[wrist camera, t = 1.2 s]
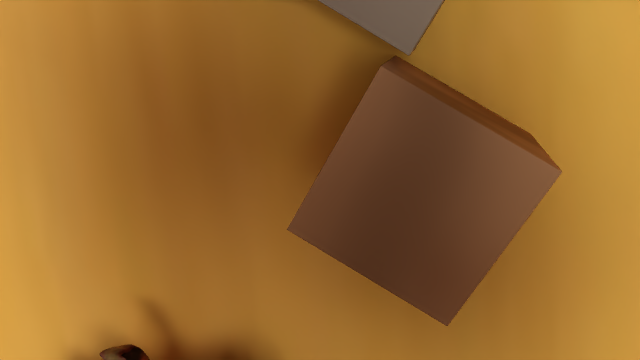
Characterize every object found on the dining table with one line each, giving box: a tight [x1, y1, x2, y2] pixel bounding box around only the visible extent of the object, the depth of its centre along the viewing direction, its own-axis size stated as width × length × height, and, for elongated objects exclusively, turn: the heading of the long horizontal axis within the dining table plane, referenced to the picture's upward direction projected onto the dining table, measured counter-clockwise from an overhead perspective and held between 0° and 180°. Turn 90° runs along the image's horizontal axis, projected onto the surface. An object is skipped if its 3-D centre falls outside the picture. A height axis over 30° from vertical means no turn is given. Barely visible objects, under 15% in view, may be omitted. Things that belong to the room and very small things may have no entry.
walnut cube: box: [287, 56, 562, 326], centre depth 17 cm, size 5×5×5 cm
